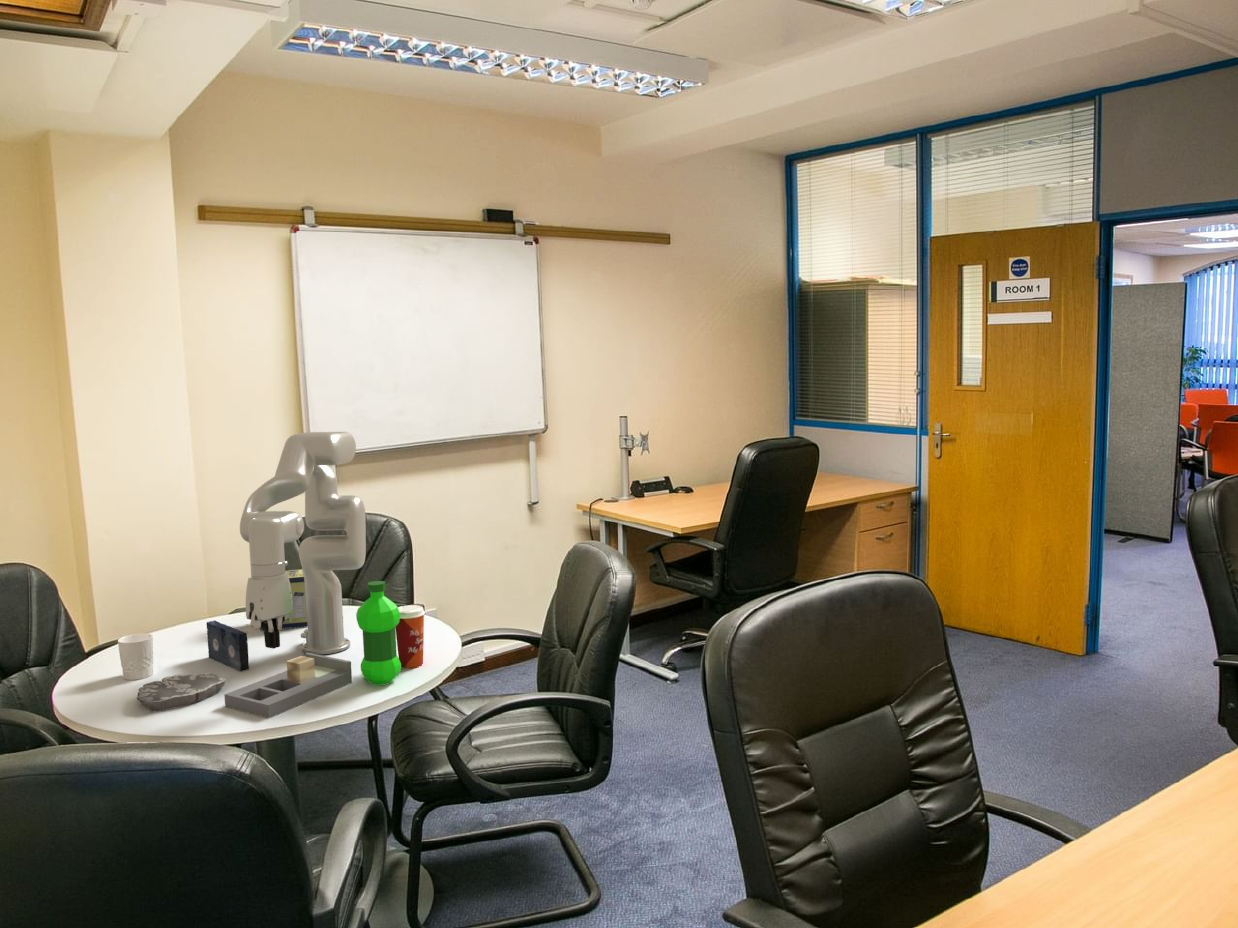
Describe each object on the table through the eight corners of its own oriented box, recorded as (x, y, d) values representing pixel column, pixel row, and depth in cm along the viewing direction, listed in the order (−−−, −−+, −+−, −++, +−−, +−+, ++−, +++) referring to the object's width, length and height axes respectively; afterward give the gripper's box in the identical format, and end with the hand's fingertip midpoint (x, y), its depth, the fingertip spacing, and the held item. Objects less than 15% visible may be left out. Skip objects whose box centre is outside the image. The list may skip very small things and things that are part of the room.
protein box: (264, 621, 285) (260, 571, 283) (317, 616, 289) (314, 568, 287) (259, 630, 275) (255, 579, 273) (314, 626, 278) (311, 575, 277)
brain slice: (196, 679, 235) (195, 667, 234) (235, 692, 225) (234, 680, 225) (118, 704, 219) (117, 691, 218) (156, 719, 209) (155, 706, 209)
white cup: (162, 672, 240) (159, 634, 239) (137, 682, 233) (134, 643, 231) (139, 669, 243) (135, 632, 241) (113, 679, 235) (110, 641, 234)
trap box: (225, 706, 215) (223, 683, 214) (309, 673, 236) (308, 652, 236) (269, 718, 208) (267, 694, 207) (352, 682, 229) (350, 661, 228)
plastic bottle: (381, 691, 223) (376, 590, 220) (351, 684, 228) (345, 585, 225) (411, 678, 231) (406, 580, 228) (381, 671, 237) (376, 576, 234)
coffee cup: (419, 670, 237) (417, 613, 235) (389, 669, 239) (386, 612, 237) (432, 659, 245) (430, 604, 243) (403, 658, 247) (400, 603, 245)
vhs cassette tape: (250, 669, 241) (247, 632, 239) (238, 672, 239) (236, 635, 237) (219, 655, 253) (216, 619, 252) (208, 657, 251) (205, 622, 250)
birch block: (287, 679, 224) (286, 661, 223) (302, 673, 228) (301, 655, 227) (300, 682, 222) (299, 663, 221) (315, 676, 225) (314, 658, 225)
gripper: (283, 562, 223) (287, 636, 225) (229, 574, 210) (234, 653, 212) (304, 565, 219) (309, 640, 221) (252, 577, 206) (257, 657, 208)
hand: (272, 646), depth 216 cm, fingers closed
